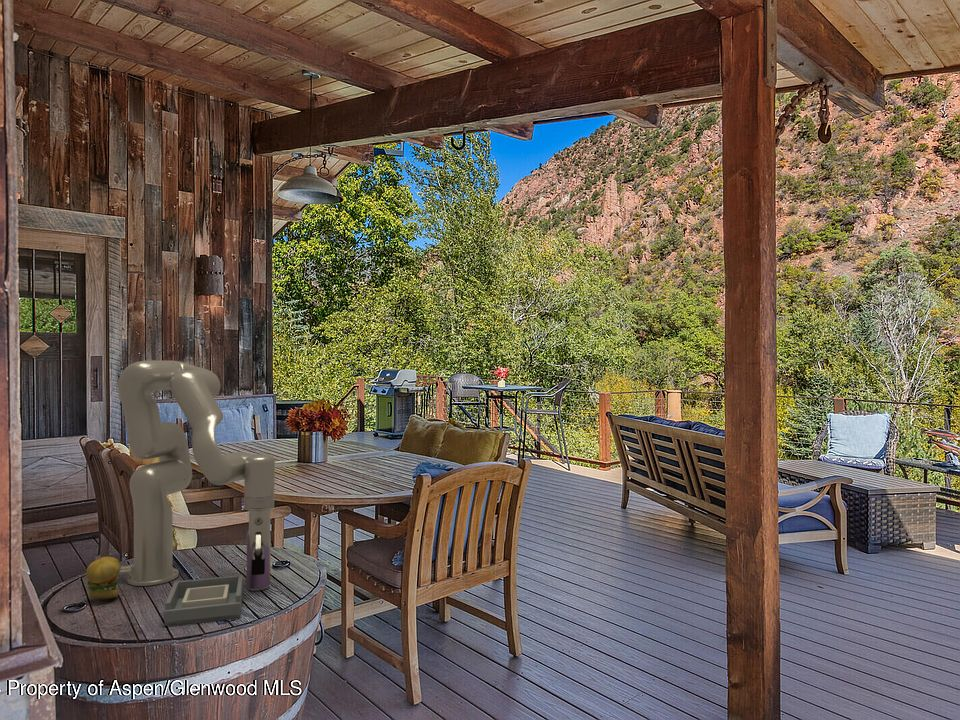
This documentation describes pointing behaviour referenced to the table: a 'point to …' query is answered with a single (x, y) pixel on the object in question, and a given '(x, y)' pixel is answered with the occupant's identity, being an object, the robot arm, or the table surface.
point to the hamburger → (103, 577)
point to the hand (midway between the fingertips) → (258, 569)
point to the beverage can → (251, 580)
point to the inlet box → (204, 600)
